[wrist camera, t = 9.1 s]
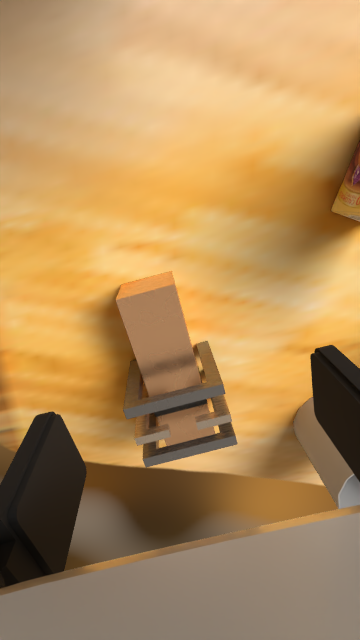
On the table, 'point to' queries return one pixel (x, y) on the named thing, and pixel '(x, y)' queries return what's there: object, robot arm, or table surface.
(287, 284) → the table surface
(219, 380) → the grey open box frame
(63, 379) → the table surface
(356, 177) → the candy box
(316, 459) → the cup
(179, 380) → the tall tan block
